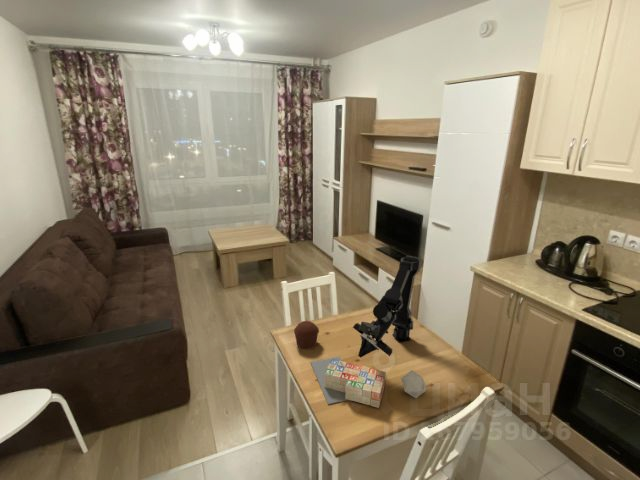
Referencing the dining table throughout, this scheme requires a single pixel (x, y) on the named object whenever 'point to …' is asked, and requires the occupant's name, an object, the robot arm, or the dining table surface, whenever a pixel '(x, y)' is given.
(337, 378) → the stack of blocks
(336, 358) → the mat
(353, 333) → the dining table surface
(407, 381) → the die
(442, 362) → the dining table surface
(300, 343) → the muffin
